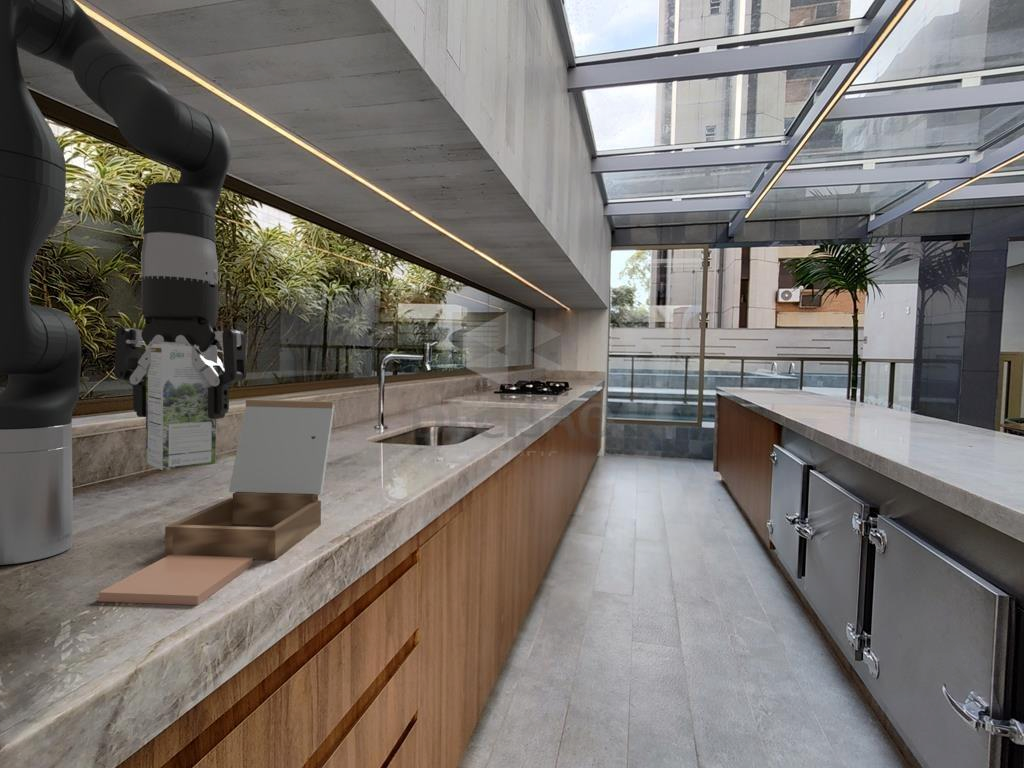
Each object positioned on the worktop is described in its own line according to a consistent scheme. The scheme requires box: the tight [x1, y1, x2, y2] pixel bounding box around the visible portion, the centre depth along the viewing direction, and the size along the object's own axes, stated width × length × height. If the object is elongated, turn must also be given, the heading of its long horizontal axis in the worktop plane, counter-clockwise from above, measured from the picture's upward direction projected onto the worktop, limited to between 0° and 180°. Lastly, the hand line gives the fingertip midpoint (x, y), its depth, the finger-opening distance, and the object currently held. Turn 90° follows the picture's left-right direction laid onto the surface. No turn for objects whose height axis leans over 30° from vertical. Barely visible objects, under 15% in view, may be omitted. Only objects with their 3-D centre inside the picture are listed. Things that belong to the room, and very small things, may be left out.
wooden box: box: [164, 436, 322, 561], centre depth 78 cm, size 15×19×14 cm
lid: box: [228, 399, 336, 496], centre depth 86 cm, size 15×6×15 cm, turn 88°
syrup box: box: [145, 341, 218, 471], centre depth 60 cm, size 6×6×14 cm
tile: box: [98, 555, 254, 606], centre depth 61 cm, size 11×11×1 cm
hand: (181, 417), depth 60 cm, fingers closed on syrup box, 8 cm apart
